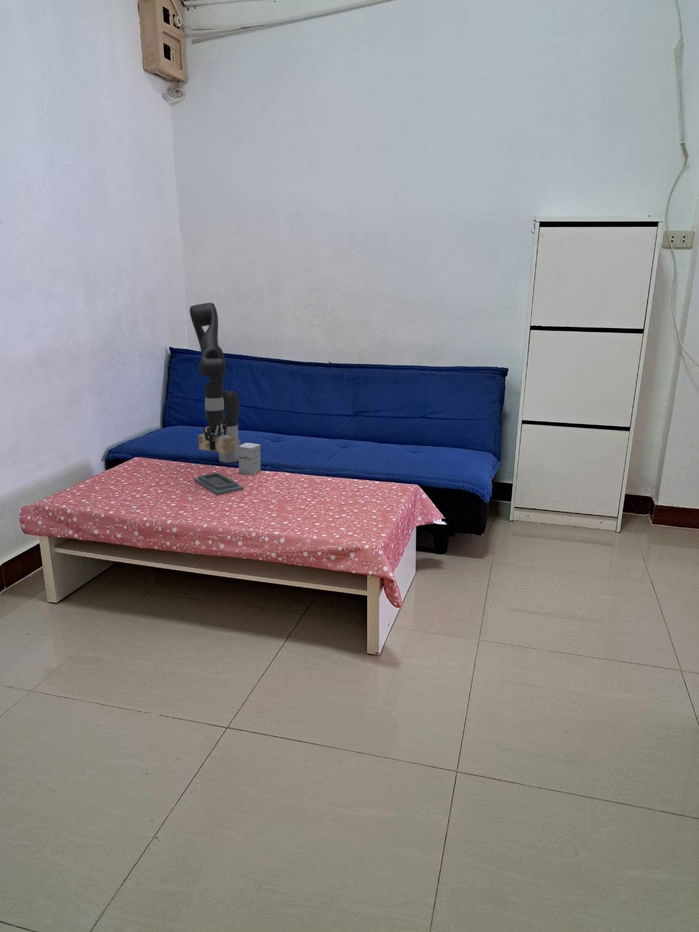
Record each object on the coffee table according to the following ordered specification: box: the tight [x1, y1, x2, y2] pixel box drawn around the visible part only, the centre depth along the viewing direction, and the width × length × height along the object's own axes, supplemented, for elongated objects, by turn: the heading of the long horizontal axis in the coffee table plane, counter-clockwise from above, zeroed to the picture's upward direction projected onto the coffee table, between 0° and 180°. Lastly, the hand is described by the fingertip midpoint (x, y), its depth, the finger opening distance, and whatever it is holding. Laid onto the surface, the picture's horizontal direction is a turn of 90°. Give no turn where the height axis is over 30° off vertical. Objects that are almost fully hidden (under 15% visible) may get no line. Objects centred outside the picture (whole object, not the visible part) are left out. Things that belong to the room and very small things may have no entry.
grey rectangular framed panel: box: [193, 471, 244, 496], centre depth 276 cm, size 22×12×3 cm, turn 37°
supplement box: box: [238, 442, 262, 476], centre depth 293 cm, size 7×7×13 cm
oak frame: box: [197, 432, 234, 453], centre depth 271 cm, size 14×5×6 cm, turn 67°
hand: (216, 448), depth 272 cm, fingers closed on oak frame, 5 cm apart
